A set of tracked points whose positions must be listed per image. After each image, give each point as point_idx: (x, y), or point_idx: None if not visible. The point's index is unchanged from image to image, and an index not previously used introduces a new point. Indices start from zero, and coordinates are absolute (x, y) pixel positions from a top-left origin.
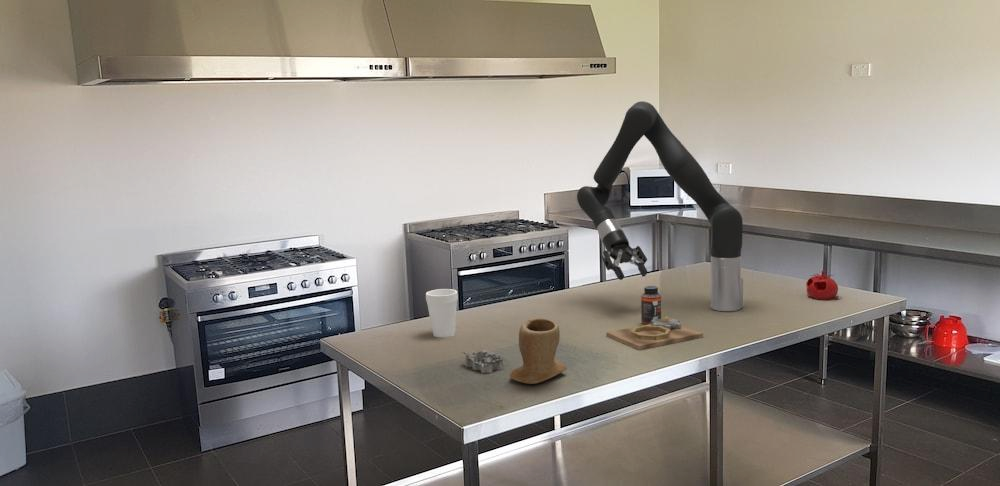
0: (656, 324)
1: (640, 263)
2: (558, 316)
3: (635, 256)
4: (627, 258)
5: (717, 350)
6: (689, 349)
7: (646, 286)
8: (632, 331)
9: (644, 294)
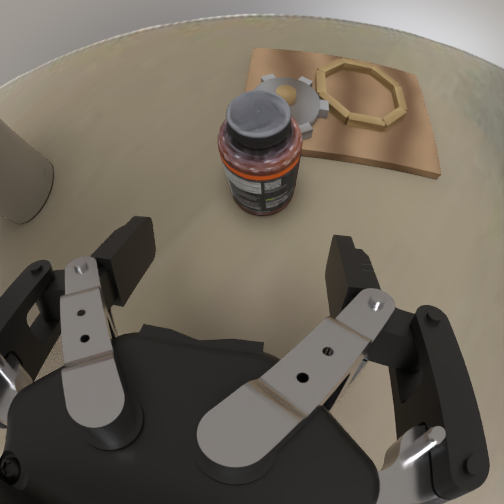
0: (322, 101)
1: (99, 274)
2: None
3: (89, 297)
4: (184, 339)
5: (293, 18)
6: (330, 36)
7: (266, 130)
8: (403, 109)
9: (293, 136)
